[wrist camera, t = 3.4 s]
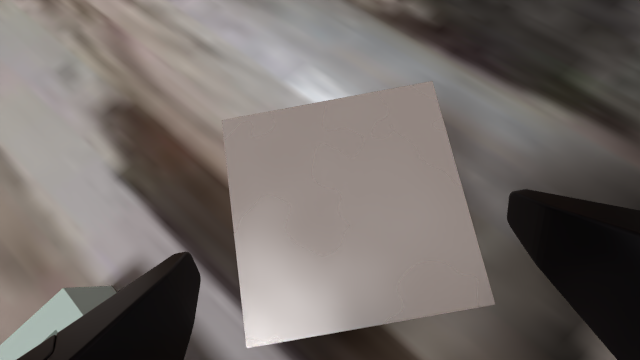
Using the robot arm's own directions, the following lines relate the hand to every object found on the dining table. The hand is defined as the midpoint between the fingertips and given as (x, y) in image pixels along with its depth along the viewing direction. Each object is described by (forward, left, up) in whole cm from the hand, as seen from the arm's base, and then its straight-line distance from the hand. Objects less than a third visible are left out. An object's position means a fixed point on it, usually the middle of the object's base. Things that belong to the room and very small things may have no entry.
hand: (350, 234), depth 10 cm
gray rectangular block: (0, 0, -9) cm, 9 cm away
